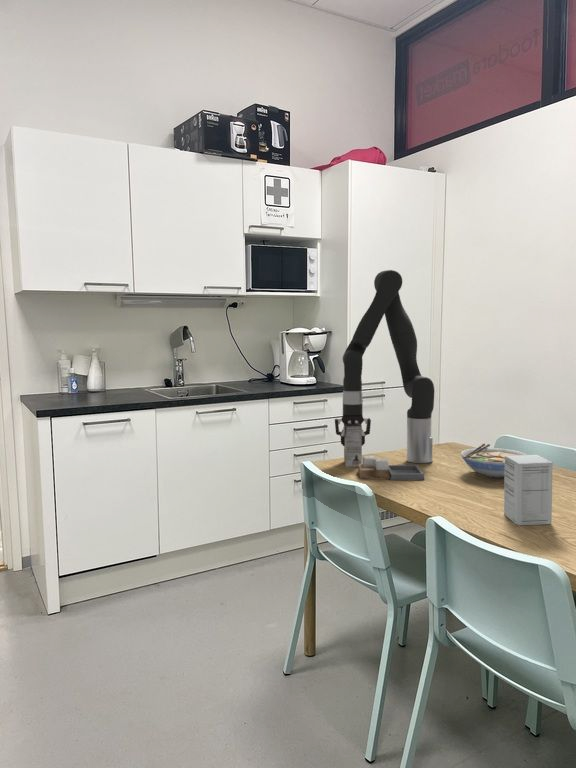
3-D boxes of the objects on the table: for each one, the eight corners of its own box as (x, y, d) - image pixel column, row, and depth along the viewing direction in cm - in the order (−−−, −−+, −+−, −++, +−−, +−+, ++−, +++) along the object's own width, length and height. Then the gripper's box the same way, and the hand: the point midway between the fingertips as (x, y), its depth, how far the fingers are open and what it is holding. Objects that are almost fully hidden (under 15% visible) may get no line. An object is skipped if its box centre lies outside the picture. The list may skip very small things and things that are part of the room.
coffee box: (343, 461, 224) (343, 420, 223) (360, 461, 224) (359, 420, 223) (345, 466, 215) (345, 424, 214) (362, 466, 215) (362, 424, 214)
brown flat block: (386, 471, 207) (386, 463, 207) (389, 478, 198) (389, 470, 198) (358, 472, 207) (358, 464, 207) (360, 478, 198) (360, 470, 198)
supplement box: (536, 513, 159) (538, 454, 158) (552, 524, 150) (554, 462, 149) (502, 514, 159) (503, 455, 157) (516, 525, 150) (518, 462, 148)
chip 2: (386, 466, 202) (386, 458, 202) (388, 469, 198) (388, 461, 198) (375, 467, 202) (375, 458, 202) (376, 469, 198) (376, 461, 198)
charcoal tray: (416, 470, 209) (416, 464, 208) (424, 479, 196) (424, 474, 195) (386, 470, 209) (386, 465, 209) (391, 480, 196) (391, 474, 196)
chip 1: (373, 464, 207) (373, 455, 206) (374, 466, 203) (374, 458, 202) (362, 464, 207) (362, 456, 206) (363, 466, 203) (363, 458, 202)
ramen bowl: (517, 488, 183) (518, 463, 183) (449, 478, 197) (449, 455, 196) (537, 472, 203) (538, 449, 202) (474, 463, 217) (474, 442, 216)
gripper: (370, 400, 221) (370, 443, 222) (333, 401, 221) (333, 443, 223) (372, 403, 213) (372, 447, 215) (334, 403, 214) (334, 447, 216)
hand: (352, 445), depth 219 cm, fingers closed on coffee box, 6 cm apart
